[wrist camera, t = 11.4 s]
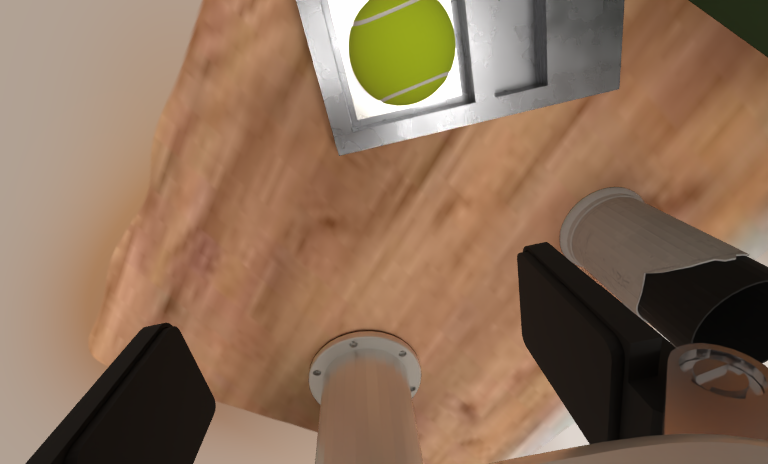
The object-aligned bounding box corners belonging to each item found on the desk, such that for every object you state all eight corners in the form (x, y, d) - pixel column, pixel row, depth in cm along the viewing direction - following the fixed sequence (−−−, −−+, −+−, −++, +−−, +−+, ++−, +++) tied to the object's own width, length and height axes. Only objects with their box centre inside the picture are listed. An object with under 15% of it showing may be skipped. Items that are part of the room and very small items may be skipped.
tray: (597, 86, 31) (619, 89, 28) (340, 147, 31) (338, 155, 29) (603, -115, 25) (632, -134, 22) (290, -36, 25) (283, -46, 23)
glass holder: (652, 178, 35) (845, 255, 21) (635, 300, 41) (776, 420, 27) (560, 197, 35) (693, 285, 21) (557, 315, 41) (659, 443, 27)
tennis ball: (453, 79, 29) (481, 85, 22) (369, 113, 29) (374, 129, 23) (425, -21, 26) (449, -47, 19) (333, 19, 26) (327, 6, 20)
